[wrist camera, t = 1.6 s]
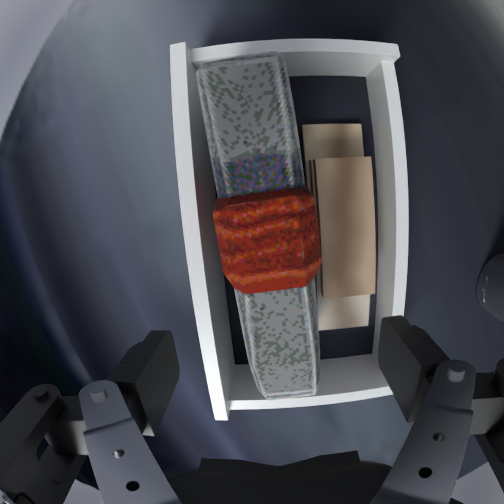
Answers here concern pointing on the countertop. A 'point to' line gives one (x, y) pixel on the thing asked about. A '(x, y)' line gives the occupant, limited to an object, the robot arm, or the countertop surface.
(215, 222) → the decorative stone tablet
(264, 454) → the countertop surface
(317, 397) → the white open box
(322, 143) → the bottom offcut
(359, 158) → the top offcut
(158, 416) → the robot arm
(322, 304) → the middle offcut
